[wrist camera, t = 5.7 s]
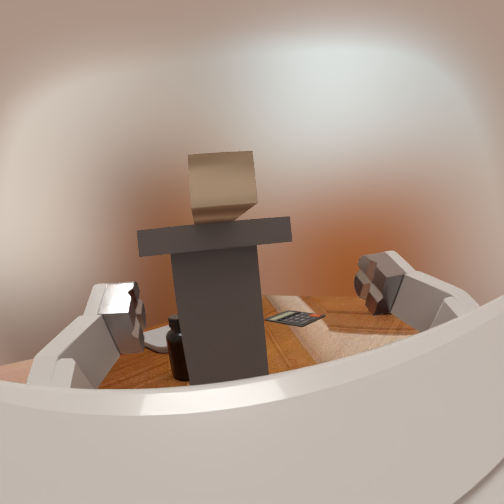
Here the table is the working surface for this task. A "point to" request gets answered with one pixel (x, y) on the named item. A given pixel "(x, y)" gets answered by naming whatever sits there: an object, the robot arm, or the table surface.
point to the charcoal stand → (218, 293)
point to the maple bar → (221, 185)
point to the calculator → (295, 318)
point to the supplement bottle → (176, 349)
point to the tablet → (157, 339)
